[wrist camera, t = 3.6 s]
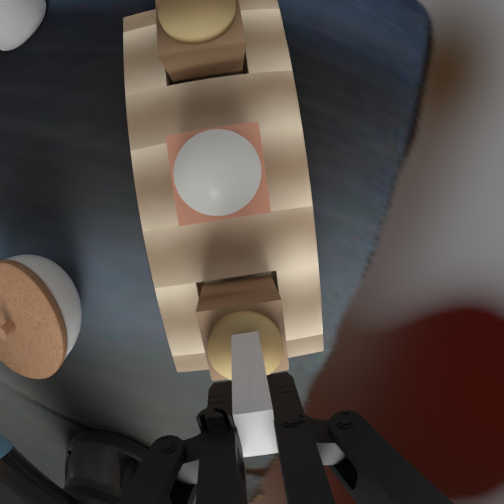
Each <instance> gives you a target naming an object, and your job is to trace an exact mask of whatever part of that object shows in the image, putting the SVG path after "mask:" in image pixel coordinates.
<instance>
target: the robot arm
mask: <svg viewBox="0 0 504 504" xmlns="http://www.w3.org/2000/svg"><path fill="white" fill-rule="evenodd" d="M231 361H232V381H226V382H218V383H213V385H212V386H211V387H210V389H209V393H208V405H207V408H206V409H204V410H202V411H201V412H200V413H199V414H198V416H197V418H196V419H197V422H198V425H199V428H200V430H201V433H200V434H199V435H197V436H195V437H193V438H190V439H186V440H183V441H182V440H181V439H180V438H179V437H177V436H173V435H167V436H163V437H160V438H158V439H157V440H155V442H154V443H153V444H152V446H151V447H150V449H147V448H146V447H144V446H142V445H140V444H139V443H137V442H134V441H132V440H130V439H128V438H125V437H122V436H120V435H116V434H113V433H109V432H104V431H95V430H89V431H82V432H79V433H77V434H76V435H74V436H73V438H72V439H71V441H70V443H69V445H68V447H67V450H66V461H65V485H64V488H63V489H61V488H60V487H59V486H58V485H56V484H55V483H54V482H53V481H51V480H50V479H49V478H48V477H46V476H45V475H44V474H43V473H42V472H41V471H39V470H38V469H37V468H36V467H35V466H34V465H33V464H32V463H30V462H29V461H28V460H27V459H26V458H25V457H24V456H23V455H22V454H21V453H20V452H19V451H18V450H17V449H16V448H15V447H14V446H13V444H12V443H11V442H10V440H8V439H5V438H4V437H3V436H2V435H1V434H0V504H192V503H193V501H194V498H195V496H196V504H248V499H247V486H246V473H245V465H244V461H243V456H244V457H250V456H258V455H265V454H272V453H279V459H280V466H281V471H282V476H283V482H284V487H285V493H286V498H287V503H288V504H335V501H334V498H333V495H332V492H331V489H330V485H329V482H328V479H327V476H326V473H325V470H324V466H323V465H329V467H330V469H331V470H332V471H333V473H334V474H335V475H336V477H337V478H338V479H339V481H340V482H341V483H342V485H343V486H344V487H345V489H346V490H347V491H348V492H349V494H350V495H351V496H352V498H353V499H354V500H355V501H356V503H357V504H454V503H452V502H451V501H450V500H449V499H448V498H447V497H446V496H445V495H444V494H442V493H441V492H440V491H439V490H438V489H437V488H436V487H435V486H434V485H433V484H432V483H430V482H429V481H428V480H427V479H426V478H425V477H424V476H423V475H422V474H421V473H420V472H419V471H418V470H416V469H415V468H414V467H413V466H412V465H411V464H410V463H409V462H408V461H407V460H406V459H405V458H404V457H403V456H402V455H401V454H400V453H399V452H397V451H396V450H395V449H394V448H393V447H392V446H391V445H390V444H389V443H388V442H387V441H386V440H385V439H384V438H383V437H382V436H381V435H380V434H379V433H378V432H377V431H376V430H375V429H374V428H373V427H372V426H371V425H370V424H368V422H367V421H366V420H365V419H364V418H362V416H361V415H359V414H358V413H356V412H353V411H341V412H337V413H335V414H334V415H333V416H331V418H330V419H329V420H318V419H313V418H311V417H309V416H307V415H306V414H305V413H304V411H303V408H302V405H301V402H300V398H299V395H298V392H297V389H296V386H295V383H294V379H293V377H292V376H291V375H290V374H288V373H287V372H283V373H277V374H271V375H266V370H265V365H264V360H263V354H262V349H261V344H260V338H259V333H258V331H255V332H248V333H241V334H234V335H231ZM196 493H197V495H196Z"/></svg>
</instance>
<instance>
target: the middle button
mask: <svg viewBox="0 0 504 504" xmlns="http://www.w3.org/2000/svg"><path fill="white" fill-rule="evenodd" d="M166 142H167V150H168V157H169V165H170V172H171V179H172V186H173V193H174V199H175V205H176V212H177V218H178V224H179V226H185V225H191V224H197V223H204V222H210V221H216V220H223V219H230V218H236V217H243V216H250V215H257V214H264V213H271V208H270V201H269V193H268V186H267V178H266V171H265V164H264V157H263V150H262V143H261V136H260V129H259V122H258V121H257V122H249V123H240V124H233V125H226V126H219V127H212V128H206V129H200V130H194V131H188V132H183V133H178V134H172V135H167V136H166Z"/></svg>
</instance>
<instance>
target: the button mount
mask: <svg viewBox="0 0 504 504" xmlns="http://www.w3.org/2000/svg"><path fill="white" fill-rule="evenodd" d="M239 5H240V11H241V17H242V22H243V28H244V34H245V40H246V45H245V54H244V62H243V70H242V72H235V73H226V74H219V75H212V76H205V77H199V78H193V79H188V80H182V81H177V82H173V81H172V80H171V78H170V76H169V74H168V73H167V71H166V69H165V67H164V66H163V64H162V62H161V60H160V58H159V57H158V45H157V27H156V9H154V10H150V11H146V12H142V13H139V14H135V15H131V16H128V17H124V18H123V51H124V79H125V97H126V110H127V122H128V132H129V142H130V151H131V159H132V167H133V174H134V182H135V188H136V195H137V201H138V207H139V213H140V219H141V225H142V230H143V236H144V241H145V246H146V251H147V256H148V261H149V265H150V270H151V274H152V279H153V283H154V288H155V292H156V296H157V300H158V304H159V308H160V312H161V316H162V320H163V324H164V327H165V331H166V335H167V338H168V342H169V346H170V349H171V352H172V356H173V359H174V363H175V366H176V369H177V372H187V371H197V370H207V369H209V367H208V363H207V359H206V355H205V350H204V346H203V342H202V338H201V333H200V329H199V325H198V320H197V316H196V309H197V305H198V301H199V297H200V293H201V289H202V286H203V285H206V284H213V283H219V282H226V281H233V280H240V279H246V278H253V277H260V276H266V275H271V277H272V279H273V281H274V283H275V286H276V288H277V290H278V292H279V295H280V297H281V299H282V307H283V316H284V325H285V334H286V344H287V353H288V358H289V357H295V356H300V355H305V354H310V353H315V352H320V351H324V349H323V326H322V308H321V293H320V279H319V266H318V254H317V243H316V233H315V223H314V213H313V204H312V196H311V187H310V179H309V172H308V164H307V157H306V150H305V143H304V136H303V130H302V123H301V117H300V111H299V105H298V99H297V93H296V87H295V82H294V77H293V71H292V66H291V61H290V56H289V51H288V46H287V41H286V36H285V32H284V27H283V23H282V18H281V14H280V10H279V5H278V1H277V0H239ZM257 121H258V122H259V129H260V136H261V143H262V150H263V157H264V164H265V171H266V178H267V186H268V193H269V201H270V208H271V213H264V214H257V215H250V216H243V217H236V218H230V219H223V220H216V221H210V222H204V223H197V224H191V225H185V226H179V224H178V218H177V212H176V205H175V199H174V193H173V186H172V179H171V172H170V165H169V157H168V150H167V142H166V136H167V135H172V134H178V133H183V132H188V131H194V130H200V129H206V128H212V127H219V126H226V125H233V124H240V123H249V122H257Z"/></svg>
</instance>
